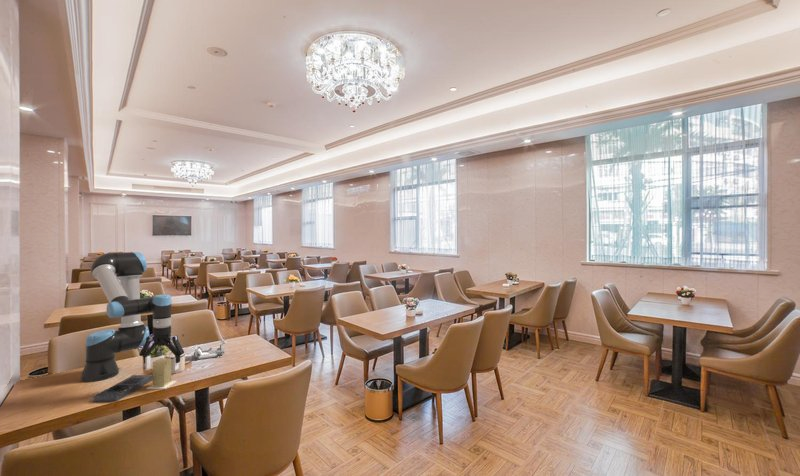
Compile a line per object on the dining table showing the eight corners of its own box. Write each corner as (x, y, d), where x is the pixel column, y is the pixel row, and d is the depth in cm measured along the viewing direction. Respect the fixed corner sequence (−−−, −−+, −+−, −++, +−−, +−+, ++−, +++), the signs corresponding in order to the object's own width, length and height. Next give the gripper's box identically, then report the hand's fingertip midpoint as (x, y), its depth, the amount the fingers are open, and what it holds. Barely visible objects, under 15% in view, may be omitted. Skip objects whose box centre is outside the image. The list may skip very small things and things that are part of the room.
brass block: (152, 386, 170) (152, 362, 170) (159, 382, 176) (159, 358, 176) (164, 386, 170) (164, 362, 170) (171, 382, 176) (171, 358, 176)
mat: (146, 389, 168) (146, 388, 168) (158, 381, 177) (158, 380, 177) (165, 389, 169) (165, 388, 169) (176, 381, 178) (176, 380, 178)
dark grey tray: (93, 401, 156) (93, 396, 156) (132, 380, 180) (132, 375, 180) (116, 401, 156) (116, 395, 156) (152, 379, 180) (152, 374, 180)
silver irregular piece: (226, 336, 226) (226, 341, 216) (226, 351, 226) (226, 357, 216) (194, 340, 218) (192, 345, 208) (193, 356, 218) (192, 361, 208)
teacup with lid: (184, 366, 198) (184, 346, 198) (185, 371, 191) (185, 350, 191) (158, 371, 191) (158, 350, 191) (159, 377, 184) (159, 354, 184)
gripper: (130, 328, 169) (130, 372, 169) (183, 328, 170) (183, 372, 170) (141, 324, 177) (141, 367, 176) (192, 324, 177) (192, 366, 177)
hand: (162, 369), depth 173 cm, fingers open, 13 cm apart
